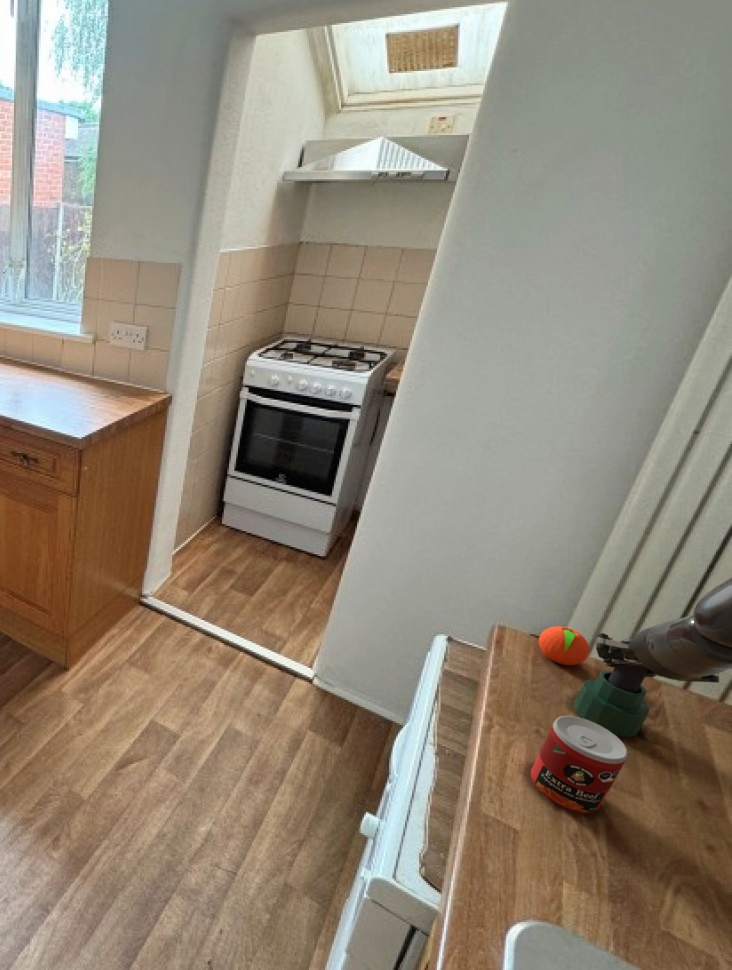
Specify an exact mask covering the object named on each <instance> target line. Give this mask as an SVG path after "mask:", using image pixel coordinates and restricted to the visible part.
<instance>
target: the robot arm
mask: <svg viewBox="0 0 732 970" xmlns="http://www.w3.org/2000/svg"><path fill="white" fill-rule="evenodd" d="M595 650H596V653H597V655H598V658H600V659H602V660H603V663H605V666H607V667H610V668H614V667H615V666H620V665H622V664H625V665H628V666H631V667H635V666H643V667H646V668H648V669H649V671H648V672H647V674H646V676H645V678H648V677H659V678H660V677H661V678H665V679H669V680H673V681H678V682H693V683H694V682H695V683H696V682H697V683H715V684H716V683H720V673H723V672H725V671H728V670H732V576H731V577H729V578H727V579H726V580H724V581H723V582H721V583H720V584H718V585H716V586H714V587H713V588H712V589H710V590H709V591H708V592H706V593H705V594H704V595H703V596H701V597H700V598H699V599H698V601H697V603H696V604H695V606H694V608H693V612H692V614H690V615H687V616H685V617H681V618H675V619H674V618H673V619H671V620H667V621H664V622H662V623H659V624H656V625H653V626H649V627H647V628H644V629H642V630H640V632H638V633H637V634H635V636H634V637H633V638H624V639H622V640H620V641H618V640H614V639H613V637H611V636H610V637H609V635H608V634H606V633H604V632H597V635H596V644H595Z"/></svg>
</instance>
